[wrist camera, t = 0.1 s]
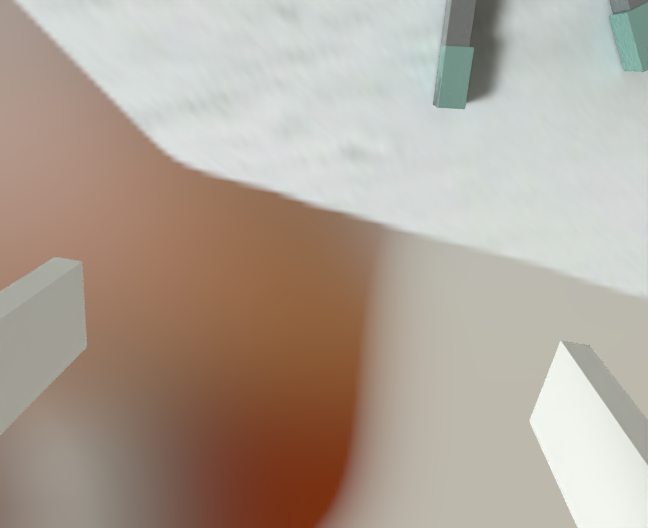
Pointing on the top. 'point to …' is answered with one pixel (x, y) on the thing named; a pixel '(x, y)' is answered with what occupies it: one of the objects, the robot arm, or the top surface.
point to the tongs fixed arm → (455, 55)
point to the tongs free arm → (631, 33)
